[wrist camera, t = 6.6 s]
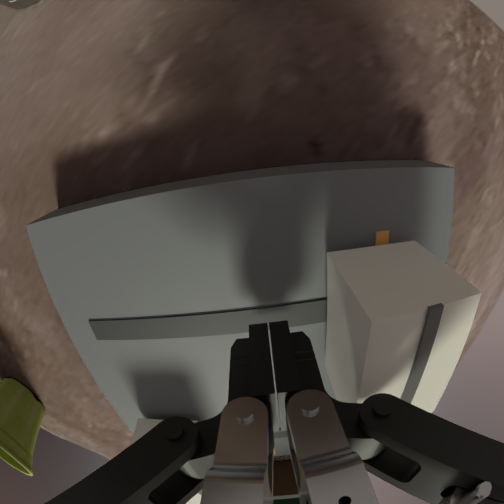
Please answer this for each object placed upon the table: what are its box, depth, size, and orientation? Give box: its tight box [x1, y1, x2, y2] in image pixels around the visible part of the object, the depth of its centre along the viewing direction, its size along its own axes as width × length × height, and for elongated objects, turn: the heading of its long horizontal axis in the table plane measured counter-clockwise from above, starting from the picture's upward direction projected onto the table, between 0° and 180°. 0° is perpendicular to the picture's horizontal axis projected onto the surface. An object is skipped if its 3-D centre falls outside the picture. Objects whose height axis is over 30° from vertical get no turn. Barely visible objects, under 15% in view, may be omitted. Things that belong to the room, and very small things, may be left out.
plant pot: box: [0, 378, 45, 476], centre depth 16 cm, size 9×9×9 cm
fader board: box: [26, 160, 455, 457], centre depth 15 cm, size 20×20×3 cm
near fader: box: [325, 241, 481, 413], centre depth 10 cm, size 6×4×5 cm, turn 7°
